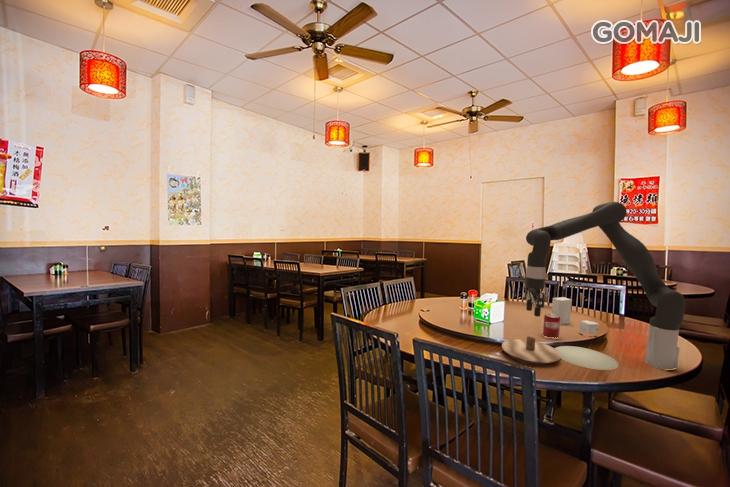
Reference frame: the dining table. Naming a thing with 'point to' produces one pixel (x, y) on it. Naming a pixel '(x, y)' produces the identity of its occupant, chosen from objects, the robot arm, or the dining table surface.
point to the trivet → (586, 358)
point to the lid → (531, 350)
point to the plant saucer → (529, 361)
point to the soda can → (551, 325)
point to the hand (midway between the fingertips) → (532, 313)
